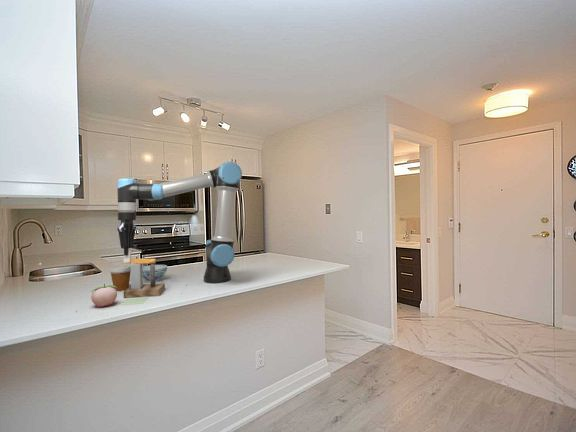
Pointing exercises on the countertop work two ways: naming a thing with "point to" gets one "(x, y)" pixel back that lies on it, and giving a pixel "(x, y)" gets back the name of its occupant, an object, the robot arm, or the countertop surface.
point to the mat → (134, 301)
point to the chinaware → (159, 272)
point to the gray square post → (136, 276)
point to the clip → (141, 261)
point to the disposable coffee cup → (121, 277)
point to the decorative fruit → (104, 295)
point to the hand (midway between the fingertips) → (127, 262)
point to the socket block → (146, 287)
